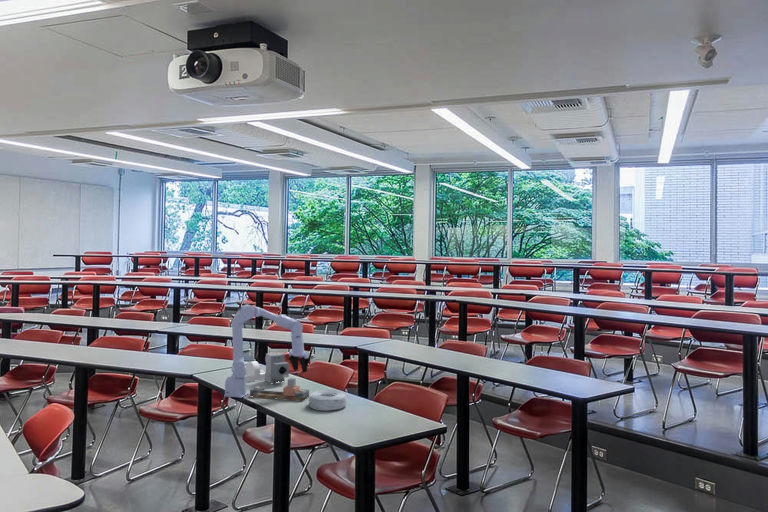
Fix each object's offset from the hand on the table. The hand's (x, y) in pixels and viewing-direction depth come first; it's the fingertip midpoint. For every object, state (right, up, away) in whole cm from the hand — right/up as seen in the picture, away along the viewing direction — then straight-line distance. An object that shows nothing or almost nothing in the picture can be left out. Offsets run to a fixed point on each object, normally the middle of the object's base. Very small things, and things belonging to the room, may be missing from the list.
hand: (300, 371), depth 276 cm
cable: (+17, -11, -25) cm, 32 cm away
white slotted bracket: (-30, -10, +25) cm, 40 cm away
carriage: (-2, -9, -12) cm, 15 cm away
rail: (-8, -10, -11) cm, 17 cm away
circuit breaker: (-15, -10, +18) cm, 25 cm away
